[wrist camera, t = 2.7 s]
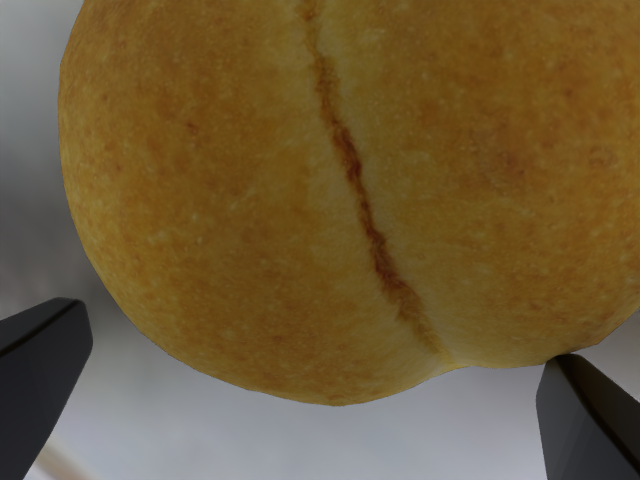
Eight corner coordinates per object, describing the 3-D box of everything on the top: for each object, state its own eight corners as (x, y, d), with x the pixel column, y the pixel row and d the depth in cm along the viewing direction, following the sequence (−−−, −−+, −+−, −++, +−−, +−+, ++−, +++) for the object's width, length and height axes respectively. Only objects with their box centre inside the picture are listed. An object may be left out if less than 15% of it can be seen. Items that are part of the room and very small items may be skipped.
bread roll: (18, -15, 8) (-238, -12, 4) (620, -240, 7) (954, -501, 3) (216, 378, 11) (164, 557, 8) (637, 284, 10) (802, 449, 7)
